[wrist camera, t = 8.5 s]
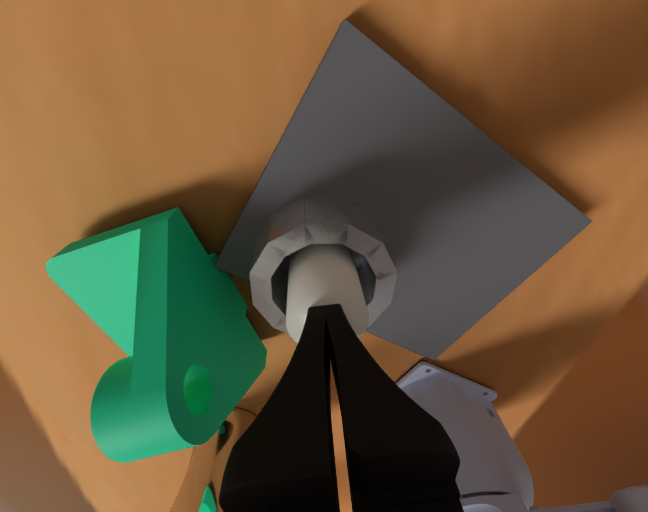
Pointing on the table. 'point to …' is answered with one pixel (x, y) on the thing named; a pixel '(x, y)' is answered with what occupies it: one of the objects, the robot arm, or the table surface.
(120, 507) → the table surface
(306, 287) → the plug cap
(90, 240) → the camera mount
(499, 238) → the mat
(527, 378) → the table surface
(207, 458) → the beer glass
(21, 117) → the table surface
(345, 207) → the sleeve
